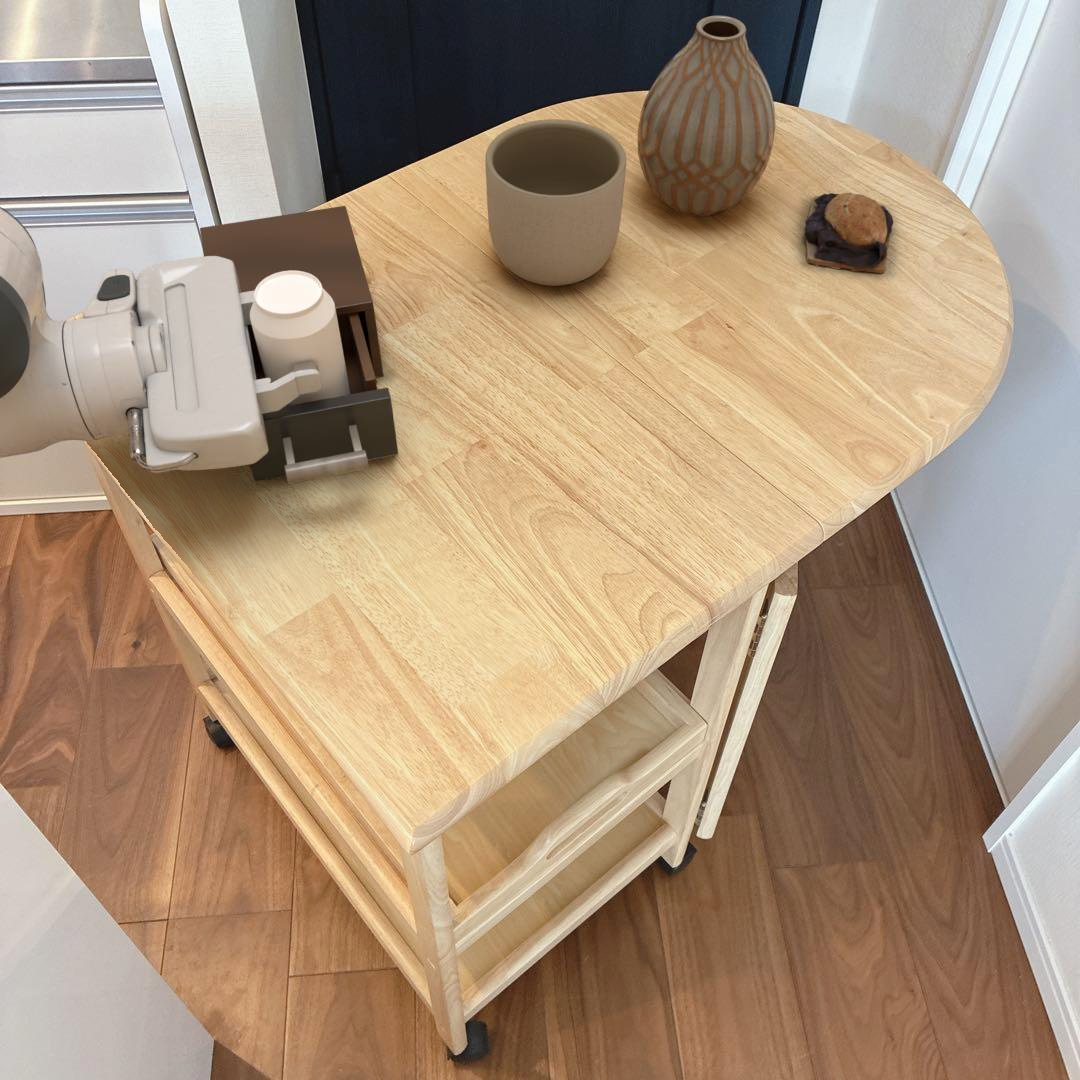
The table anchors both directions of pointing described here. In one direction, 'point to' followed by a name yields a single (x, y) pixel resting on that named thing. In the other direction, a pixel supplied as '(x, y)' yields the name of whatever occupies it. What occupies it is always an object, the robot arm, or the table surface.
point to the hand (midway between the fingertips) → (312, 340)
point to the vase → (707, 122)
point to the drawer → (330, 421)
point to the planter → (554, 199)
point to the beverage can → (299, 331)
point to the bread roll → (848, 232)
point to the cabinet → (301, 259)
